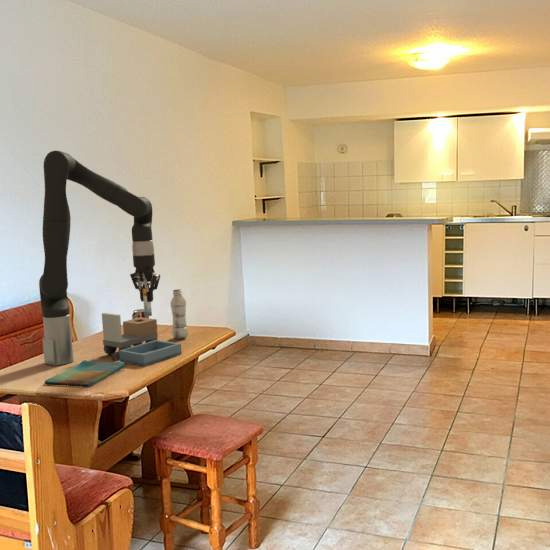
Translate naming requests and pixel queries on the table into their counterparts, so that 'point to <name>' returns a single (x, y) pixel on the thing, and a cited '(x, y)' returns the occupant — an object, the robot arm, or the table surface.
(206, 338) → the table surface
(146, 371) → the table surface
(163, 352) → the tray
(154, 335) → the trolley
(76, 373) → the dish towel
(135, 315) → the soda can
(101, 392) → the table surface
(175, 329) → the plastic bottle
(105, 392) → the table surface
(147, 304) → the stop pin
